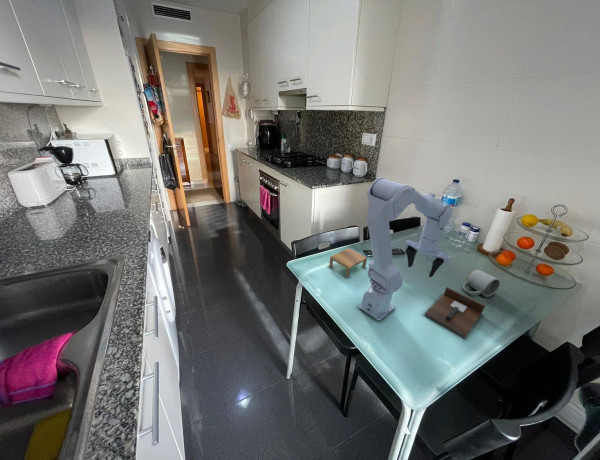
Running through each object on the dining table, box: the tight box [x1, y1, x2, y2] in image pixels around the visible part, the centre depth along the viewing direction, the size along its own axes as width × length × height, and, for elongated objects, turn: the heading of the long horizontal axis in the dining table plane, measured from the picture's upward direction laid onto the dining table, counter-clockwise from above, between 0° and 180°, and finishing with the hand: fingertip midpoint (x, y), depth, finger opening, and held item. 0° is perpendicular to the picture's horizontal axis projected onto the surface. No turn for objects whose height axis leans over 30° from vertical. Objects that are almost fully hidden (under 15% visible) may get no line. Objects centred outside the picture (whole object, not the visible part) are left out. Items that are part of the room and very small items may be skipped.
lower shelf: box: [424, 286, 486, 340], centre depth 82 cm, size 16×12×4 cm
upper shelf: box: [328, 247, 368, 279], centre depth 105 cm, size 12×10×5 cm
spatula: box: [446, 301, 467, 321], centre depth 82 cm, size 11×4×1 cm, turn 131°
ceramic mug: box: [462, 269, 501, 298], centre depth 93 cm, size 11×8×8 cm
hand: (420, 271), depth 88 cm, fingers open, 7 cm apart
